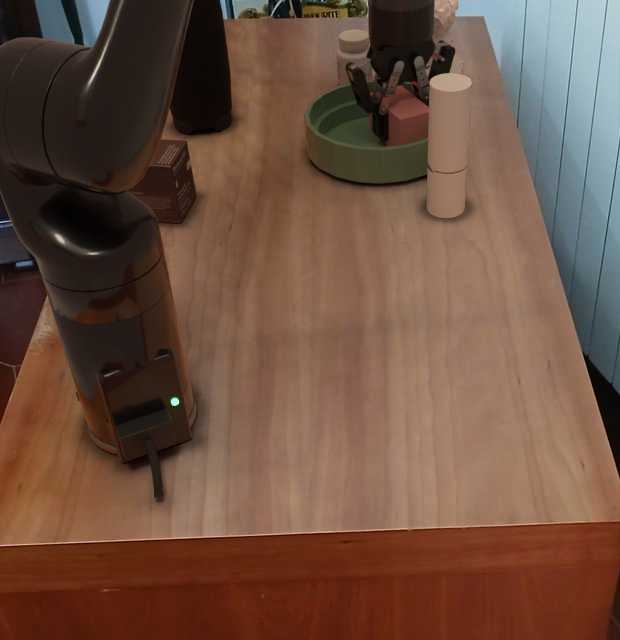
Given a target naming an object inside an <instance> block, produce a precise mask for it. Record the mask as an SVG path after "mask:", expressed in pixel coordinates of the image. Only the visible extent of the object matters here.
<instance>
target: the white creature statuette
mask: <svg viewBox="0 0 620 640" xmlns="http://www.w3.org/2000/svg"><path fill="white" fill-rule="evenodd" d="M459 4H460V3H459V0H435V7H434V33H433V36H432V39H433V41H434V42H435V43H438V42H439V41H440V40H443V41H445V42H447V43H448V44H450V45H451V46H452V47H454V48H455V46H456V42H455V38H454V36H453V35H452V32H451V31H450V30H451V28H452V26H453V25H454V24H455V20H456V17H457V16H456V11H457V10H459V6H460V5H459ZM432 60H433V58H432V57H431V58H430V60H429V62H428V63H427V65H426V67H425V70H426V74H427V77H428V75H429V71H430V67H431V64H432ZM463 63H464V61H463V60H462V59H461V57H460V56H459V55H458V52H457V50H456V49H455V55H454V59H453V62H452V66H451V69H450V73H456V74H461V75H464V66H465V65H464V64H463Z"/></svg>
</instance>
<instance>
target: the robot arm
mask: <svg viewBox="0 0 620 640" xmlns="http://www.w3.org/2000/svg"><path fill="white" fill-rule="evenodd" d="M193 3H194V0H109V1H108V5H107V9H106V12H105V15H104V19H103V22H102V25H101V28H100V30H99V33H98V35H97V38H96V40H95V42H94V44H93V45H92V46H88V45H82V44H76V43H71V42H66V41H65V42H64V41H60V40H53V39H47V38H42V37H41V38H40V37H34V36H33V37H29V36H28V37H16V38H14V39H11V40H8V41H6V42H4V43H3V44H1V45H0V196H1V199H2V202H3V204H4V206H5V209H6V212H7V214H8V218H9V219H10V223H11V225H12V227H13V230H14V232H15V233H16V236H17V237H18V239H19V241H20V242H21V244H22V245H23V246H24V247H25V248H26V250H27V251H28V252H29V253H30V254H31V255H32V256H33V257H34V258H35V261H36V263H37V266H38V270H39V273H40V277H41V279H42V282H43V285H44V289H45V293H46V296H47V298H48V302H49V307H50V309H51V312H52V315H53V319H54V322H55V325H56V328H57V331H58V335H59V338H60V341H61V344H62V347H63V350H64V354H65V357H66V361H67V364H68V367H69V370H70V373H71V376H72V379H73V384H74V386H75V389H76V391H75V395H76V399H77V402H78V403H79V402H80V404H81V408H82V411H83V414H84V418H85V425H86V428H87V432H88V435H89V437H90V438H91V440H92V441H93V442H94V444H95V445H97V446H98V447H99V448H100V449H102V450H104V451H105V452H107V453H110V454H114V455H116V456H117V457H118V458H119V460H120V462H121V463H124V464H125V463H128V462H130V461H134V460H136V459H140V458H143V457H145V456H147V457H148V461H149V466H150V470H151V471H150V472H151V477H152V486H153V496H154V497H153V498H154V499H162V498H163V497H164V489H163V485H164V484H163V476H162V470H161V466H160V460H159V456H158V452H160V451H162V450H165V449H168V448H170V447H173V446H176V445H178V444H182V443H184V442H187V441H189V440H192V438H193V434H192V429H191V428H192V426H193V425H194V423H195V421H196V417H197V404H196V398H195V395H194V392H193V389H192V385H191V379H190V374H189V370H188V365H187V360H186V355H185V350H184V345H183V339H182V336H181V335H182V334H181V331H180V325H179V324H180V323H179V320H178V319H179V318H178V315H177V310H176V309H177V308H176V305H175V299H174V295H173V290H172V289H173V288H172V284H171V280H170V272H169V268H168V263H167V258H166V253H165V248H164V242H163V237H162V232H161V228H160V224H159V221H158V220H157V218H156V216H155V214H154V212H153V210H152V209H151V208H150V207H149V206H148V205H147V204H146V203H145V202H144V201H143V200H141V199H140V198H139V197H137V196H136V195H134V194H133V193H131V192H130V191H129V190H130V189H132V188H133V187H134V186H135V185H136V184H137V183H138V182H139V181H140V180H141V179H142V178H143V176H144V175H145V173H146V172H147V170H148V168H149V167H150V165H151V163H152V161H153V159H154V157H155V154H156V152H157V149H158V146H159V144H160V141H161V139H162V137H163V134H164V131H165V128H166V125H167V120H168V116H169V111H170V104H171V99H172V95H173V91H174V86H175V81H176V77H177V72H178V68H179V63H180V59H181V54H182V49H183V45H184V40H185V36H186V31H187V27H188V23H189V19H190V15H191V10H192V7H193ZM434 7H435V0H367V19H368V20H367V21H368V22H367V23H368V26H367V27H368V34H369V41H370V43H369V50H368V52H367V56H366V58H365V59H363V60H362V61H360V62H358V63H356V64H354V63H353V62H349V63H347V64H346V66H345V69H346V72H347V75H348V78H349V81H350V84H351V87H352V90H353V93H354V96H355V99H356V102H357V104H358V105H359V106H360V107H361V108H362V109H363V110H364V111H365V112H367V113H368V114H370V113H372V131H373V133H374V134H375V135H376V136H377V137H378V138H379V139H380V140H381V141H383V142H384V141H387V140H388V139H389V114H388V113H387V111H388V108H389V105H390V101H391V98H392V97H394V95H395V92H396V88H397V86H398V85H400V84H402V83H404V82H410V84H411V87H412V90H413V94H414V95H415V97H416V98H418V99H419V100H420V101H421V102H423V103H424V104H425V105H427V106H428V107H429V90H430V80H431V79H432V78H433V77H435V76H437V75H440V74H446V73H450V69H451V66H452V62H453V59H454V55H455V50H456V48H455V46H454V47H452V46H451V45H450V44H448V43H447V42H445V41H443V40H440V41H439V42H438V43H435V42H434V41H433V39H432V36H433V33H434ZM431 57H432V58H433V60H432V64H431V67H430V71H429V75H428V77H427V74H426V70H425V67H426V65H427V63H428V62H429V60H430V58H431ZM371 68H372V69H373V72H375V73H374V76H373V93H372V97H371V94H370V91H369V88H368V84H367V80H369V70H370V69H371ZM385 83H386V84H385Z"/></svg>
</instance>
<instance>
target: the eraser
mask: <svg viewBox="0 0 620 640" xmlns="http://www.w3.org/2000/svg"><path fill="white" fill-rule="evenodd" d="M370 94H371V97H372V93H370ZM387 113H388V114H389V139H388V140H387V141H384V143H385V144H386V145H387V146H388V147H389V146H399V145H406V144H409V143H413V142H417V141H420V140H424V139H426V138H428V128H429V107H428V106H427V105H425V104H424V103H423V102H421V101H420V100H419V99H418V98H416V97H415V96H414V95H413V94H411V93H410V92H409V91H408V90H406V89H405V88H404V87H403V86H397V88H396V92H395V95H394V97H392V98H391V101H390V105H389V108H388V111H387ZM370 131H372V113H370ZM372 132H373V131H372Z"/></svg>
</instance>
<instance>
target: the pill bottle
mask: <svg viewBox="0 0 620 640" xmlns="http://www.w3.org/2000/svg"><path fill="white" fill-rule="evenodd" d="M338 47H339V48H338V49H337V51H336V70H337V73H336V74H337V86H340V85H344V84H348V83H350V81H349V78H348V75H347V72H346V69H345V66H346V64H347V63H349V62H353V63H354V64H356V63H358V62H360V61H362V60H363V59H365V58H366V56H367V52H368V50H369V47H370V40H369V32H368V31H366V30H363V29H357V28H355V29H347V30H344V31H342V32H340V33H339V34H338ZM373 72H374V70H373V69H372V68H371V69H370V70H369V80H374V74H373Z"/></svg>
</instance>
